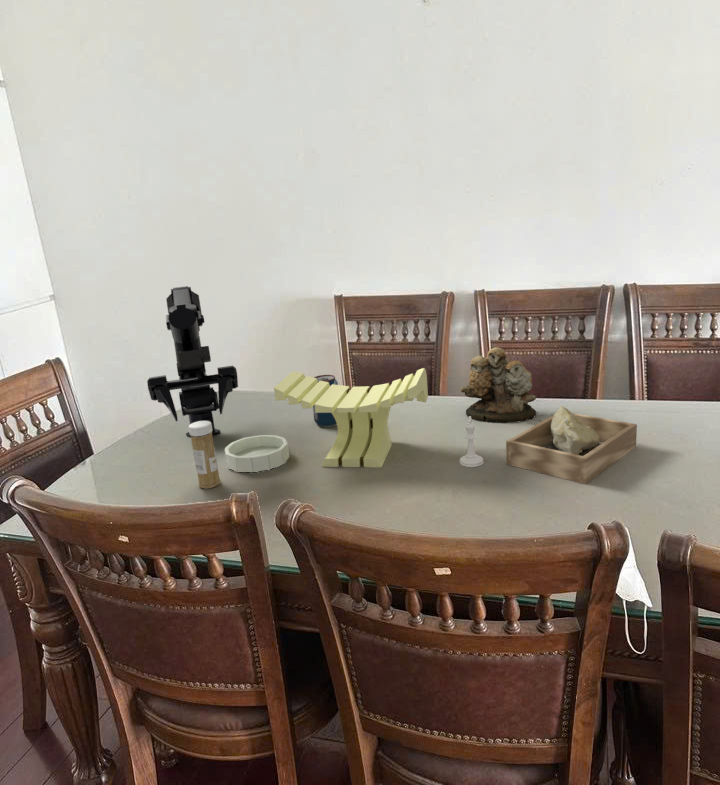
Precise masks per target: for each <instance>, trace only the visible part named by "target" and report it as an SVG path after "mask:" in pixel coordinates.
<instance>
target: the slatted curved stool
mask: <svg viewBox="0 0 720 785" xmlns="http://www.w3.org/2000/svg"><path fill="white" fill-rule="evenodd" d="M273 390H274V391H273V392H274V397H275V401H278V402H279V401H285V400H286V399H287V400H288V405H294V406H295V405H299V404H301V409H302V410H304V409H306V410H307V409H309V410H311V409H313V406H314V405H315V413H332V415H333V416H334V418H335V420H336V423H337V435H336V438H335V441H334V443H333V445H332V446H331V448H330V451H328V453H327V454H326V456H325V458H324V461H323V463H322V465H321V466H322V468H338V467H339V466H342V468H361V466H363V467H364V468H383V465H384V463H385V461H386V458H387V457H388V455H389V452H390V450H391V447H392V438H391V436H390V432H389V426H388V425H389V415H390V411H391V409H392V406H394V405H396V404H404V403H405V402H413V401H414V399H416V401H417V402H421V403H427V400H428V397H429V393H428V391H429V389H428V376H427V370H426V368H425V367H422V368H420V369H417V370H416V372H415V373H409V374H407V375H405V376H404V378H403V379H402V378H399V379H398V378H397V379H395V380H392V382H391V384H390V382H387V383H383V384H382V383H381V384H375V385H373V386H372V387H370V385H369V386H368V385H366V386H352V387H351V388H350V386H349V385H342V384H341V385H340V384H338V385H334V384H332V385H331V386H330V385H329V382H325V381H319V382H317V378H314V376H309V375H307V376H306V375H305V373H303V372H301V371H292V372H290V373H289V374H288V375H287V376H286V377H285V378H283V380H281V381H280V382H278V383H277V385H275V386H274V387H273Z"/></svg>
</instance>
